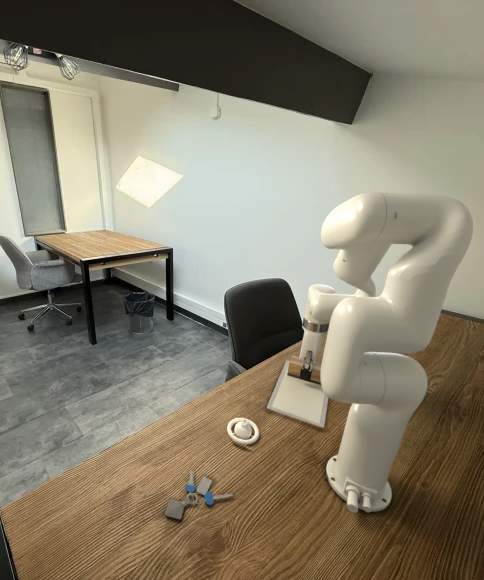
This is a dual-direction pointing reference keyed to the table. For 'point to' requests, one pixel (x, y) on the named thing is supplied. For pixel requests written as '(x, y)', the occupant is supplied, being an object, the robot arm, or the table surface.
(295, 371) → the eraser
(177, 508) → the key chain
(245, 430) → the ring around a ball
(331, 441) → the table surface
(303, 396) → the whiteboard
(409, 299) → the robot arm
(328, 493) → the table surface
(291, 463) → the table surface
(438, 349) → the table surface
